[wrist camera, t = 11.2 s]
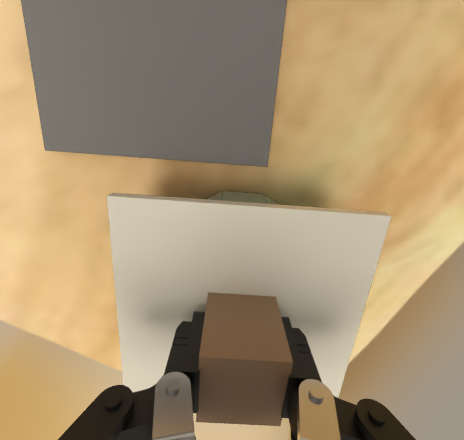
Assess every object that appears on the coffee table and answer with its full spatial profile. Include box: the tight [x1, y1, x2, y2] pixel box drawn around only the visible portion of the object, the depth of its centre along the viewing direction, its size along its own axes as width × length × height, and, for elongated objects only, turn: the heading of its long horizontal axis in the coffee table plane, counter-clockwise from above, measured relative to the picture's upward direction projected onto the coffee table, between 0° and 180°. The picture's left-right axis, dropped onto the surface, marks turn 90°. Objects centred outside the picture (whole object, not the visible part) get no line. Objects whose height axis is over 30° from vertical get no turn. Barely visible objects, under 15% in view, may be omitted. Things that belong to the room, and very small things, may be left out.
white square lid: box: [107, 193, 391, 426], centre depth 12 cm, size 13×13×5 cm
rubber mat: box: [21, 0, 287, 167], centre depth 15 cm, size 15×15×1 cm
